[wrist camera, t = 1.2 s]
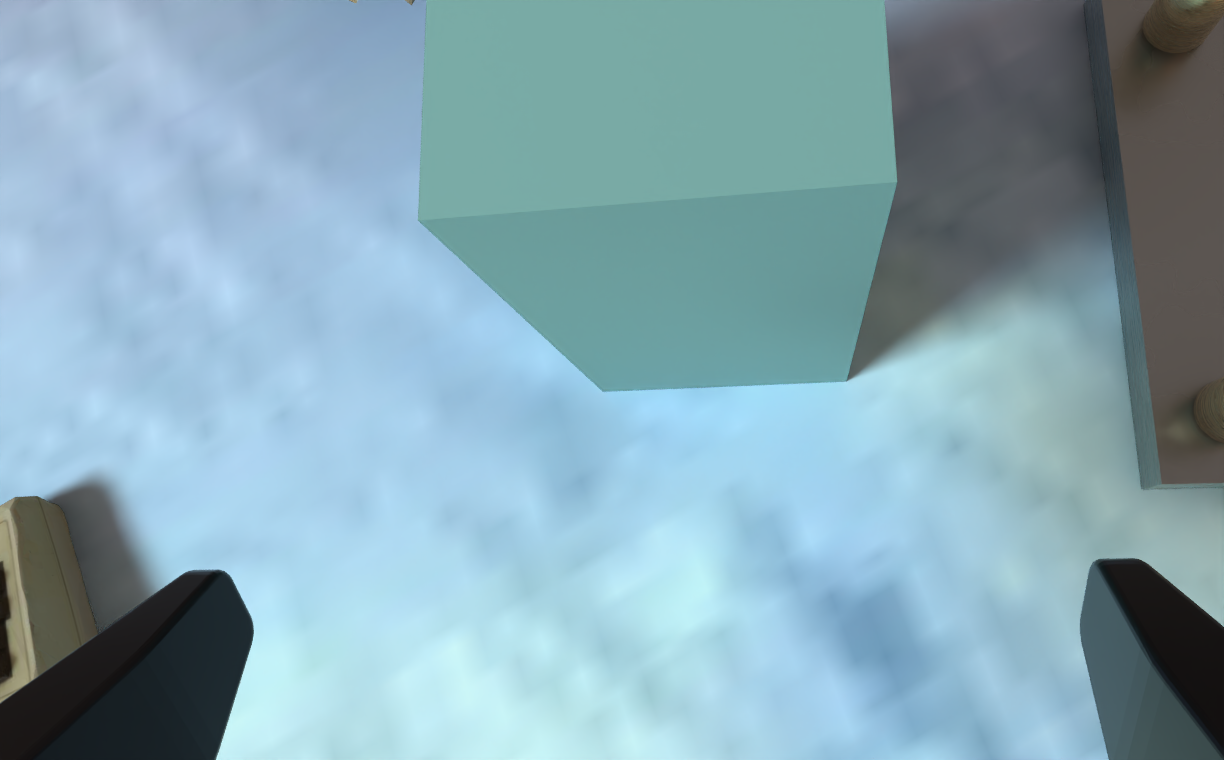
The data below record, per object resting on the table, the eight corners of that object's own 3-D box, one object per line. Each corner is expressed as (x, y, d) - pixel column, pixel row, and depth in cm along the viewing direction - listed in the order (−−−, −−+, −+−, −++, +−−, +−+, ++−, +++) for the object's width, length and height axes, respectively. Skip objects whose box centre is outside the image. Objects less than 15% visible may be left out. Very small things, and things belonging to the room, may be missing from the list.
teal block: (833, 150, 24) (866, -248, 12) (846, 381, 23) (897, 181, 11) (601, 170, 25) (433, -177, 13) (602, 391, 24) (418, 219, 12)
